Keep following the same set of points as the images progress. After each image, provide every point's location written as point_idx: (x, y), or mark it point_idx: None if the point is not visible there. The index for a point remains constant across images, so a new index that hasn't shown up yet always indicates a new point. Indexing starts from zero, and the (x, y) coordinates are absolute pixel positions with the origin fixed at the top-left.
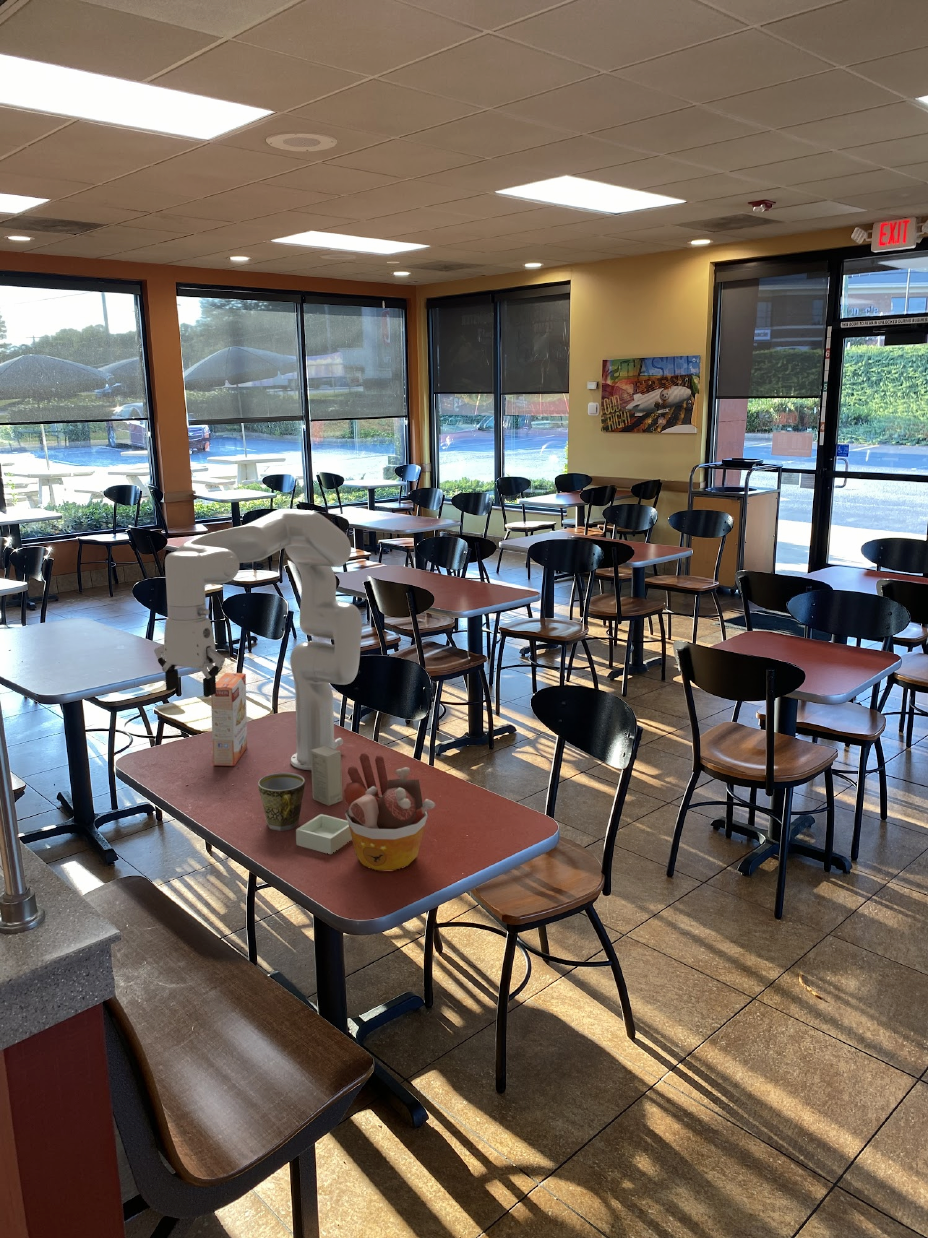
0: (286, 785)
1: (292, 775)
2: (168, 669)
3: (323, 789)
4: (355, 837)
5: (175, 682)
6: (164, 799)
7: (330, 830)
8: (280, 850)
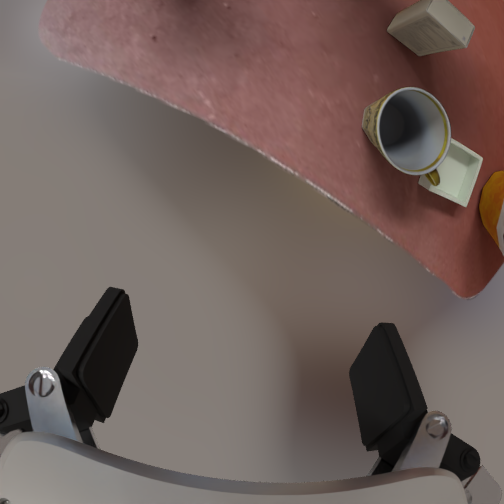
0: (400, 92)
1: (420, 91)
2: (88, 426)
3: (421, 46)
4: (496, 242)
5: (118, 333)
6: (151, 94)
7: (450, 149)
8: (403, 200)
